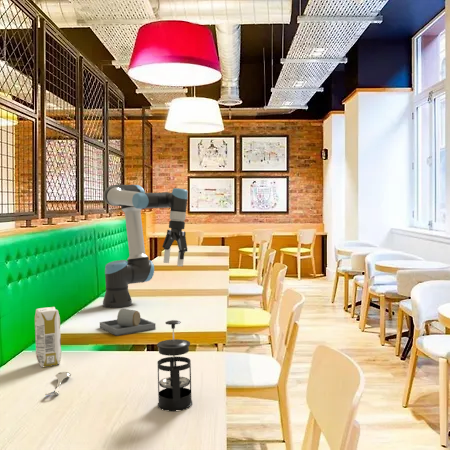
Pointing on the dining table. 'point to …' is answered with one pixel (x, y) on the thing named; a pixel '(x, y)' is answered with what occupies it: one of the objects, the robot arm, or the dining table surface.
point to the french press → (174, 374)
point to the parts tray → (121, 330)
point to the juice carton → (47, 336)
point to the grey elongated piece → (60, 380)
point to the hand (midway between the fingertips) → (172, 264)
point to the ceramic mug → (128, 318)
